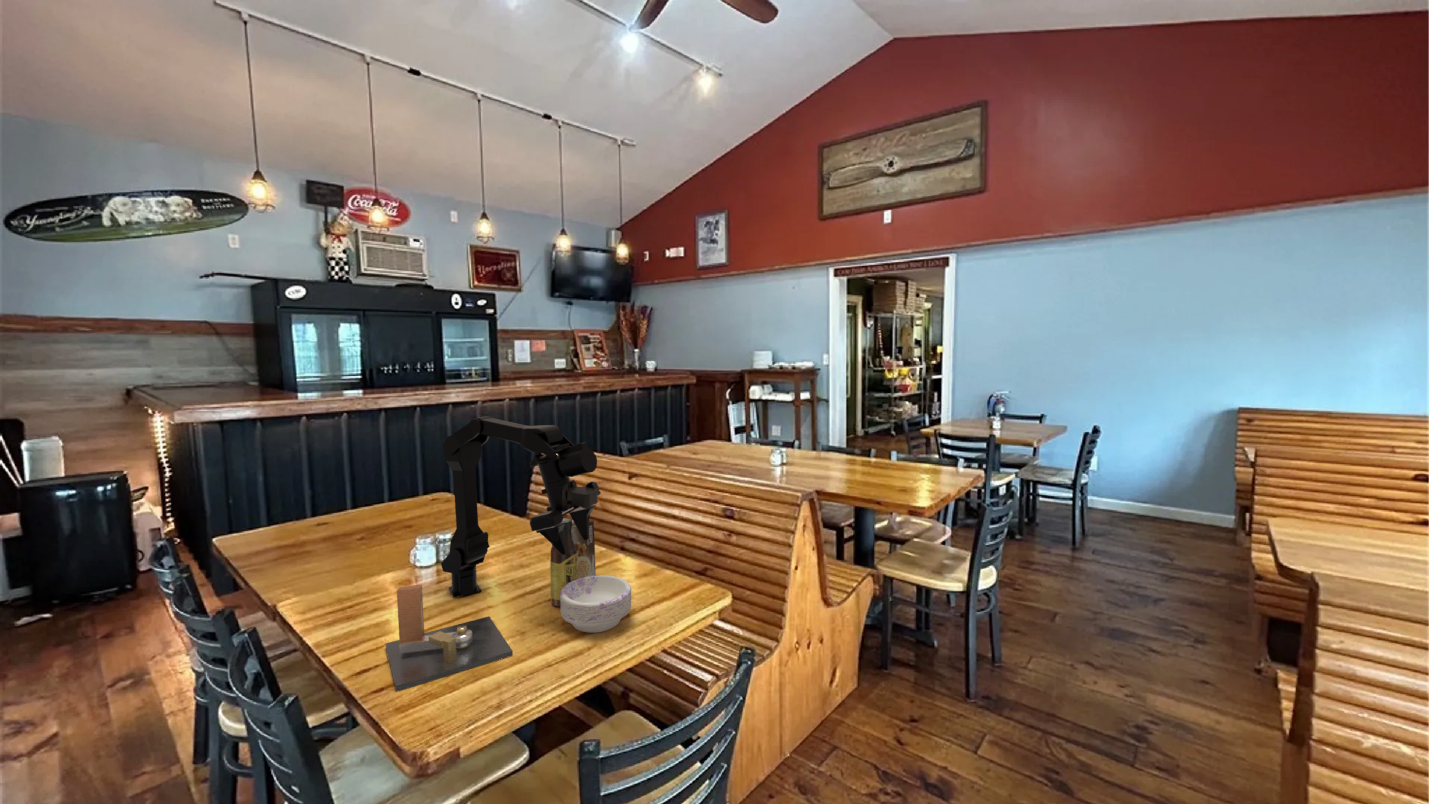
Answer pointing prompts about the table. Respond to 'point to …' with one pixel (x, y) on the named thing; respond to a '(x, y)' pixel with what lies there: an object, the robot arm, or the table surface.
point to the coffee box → (584, 551)
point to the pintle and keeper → (448, 643)
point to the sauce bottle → (563, 564)
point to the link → (418, 622)
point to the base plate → (431, 662)
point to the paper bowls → (595, 602)
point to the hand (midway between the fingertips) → (575, 546)
